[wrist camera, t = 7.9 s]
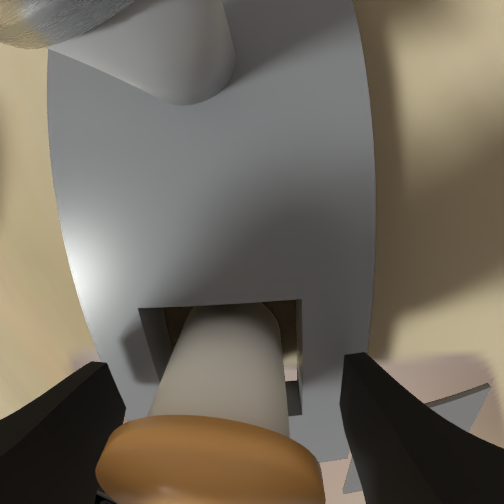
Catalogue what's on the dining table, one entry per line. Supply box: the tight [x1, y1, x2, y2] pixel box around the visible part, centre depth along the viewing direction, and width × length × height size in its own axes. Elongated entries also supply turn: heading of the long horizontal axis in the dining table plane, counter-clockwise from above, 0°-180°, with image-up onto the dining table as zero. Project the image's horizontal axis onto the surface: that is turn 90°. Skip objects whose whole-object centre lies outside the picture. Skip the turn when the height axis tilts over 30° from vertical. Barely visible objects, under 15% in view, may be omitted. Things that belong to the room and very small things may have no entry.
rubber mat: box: [343, 383, 491, 494], centre depth 13 cm, size 8×8×1 cm
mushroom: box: [95, 302, 326, 504], centre depth 8 cm, size 5×5×7 cm
